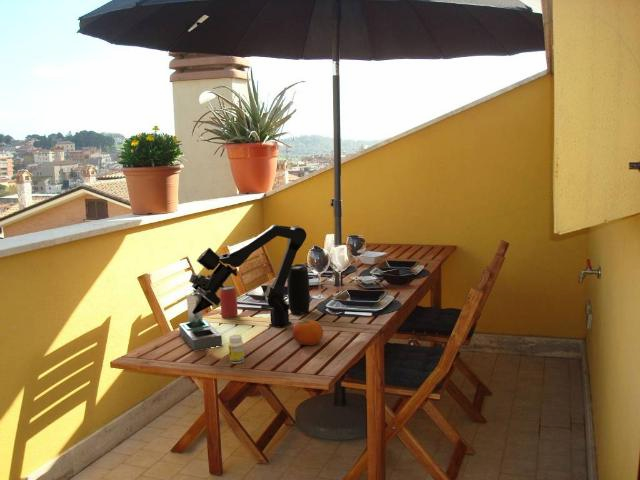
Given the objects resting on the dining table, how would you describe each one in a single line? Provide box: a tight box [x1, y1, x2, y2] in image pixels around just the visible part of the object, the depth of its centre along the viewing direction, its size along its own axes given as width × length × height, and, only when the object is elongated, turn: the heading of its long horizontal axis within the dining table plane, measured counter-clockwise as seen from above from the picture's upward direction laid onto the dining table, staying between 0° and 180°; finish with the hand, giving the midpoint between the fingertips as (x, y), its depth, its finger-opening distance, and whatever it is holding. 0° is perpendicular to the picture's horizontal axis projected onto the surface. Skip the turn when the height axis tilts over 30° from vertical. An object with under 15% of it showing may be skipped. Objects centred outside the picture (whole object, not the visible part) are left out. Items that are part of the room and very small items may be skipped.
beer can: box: [219, 285, 239, 319], centre depth 256 cm, size 7×7×12 cm
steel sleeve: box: [186, 292, 204, 328], centre depth 232 cm, size 5×5×13 cm
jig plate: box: [178, 319, 223, 351], centre depth 228 cm, size 22×10×4 cm, turn 25°
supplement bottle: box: [228, 334, 245, 364], centre depth 205 cm, size 5×5×8 cm
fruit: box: [292, 319, 324, 346], centre depth 219 cm, size 11×10×8 cm
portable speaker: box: [286, 263, 311, 316], centre depth 257 cm, size 9×9×20 cm
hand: (191, 311), depth 231 cm, fingers closed on steel sleeve, 5 cm apart
